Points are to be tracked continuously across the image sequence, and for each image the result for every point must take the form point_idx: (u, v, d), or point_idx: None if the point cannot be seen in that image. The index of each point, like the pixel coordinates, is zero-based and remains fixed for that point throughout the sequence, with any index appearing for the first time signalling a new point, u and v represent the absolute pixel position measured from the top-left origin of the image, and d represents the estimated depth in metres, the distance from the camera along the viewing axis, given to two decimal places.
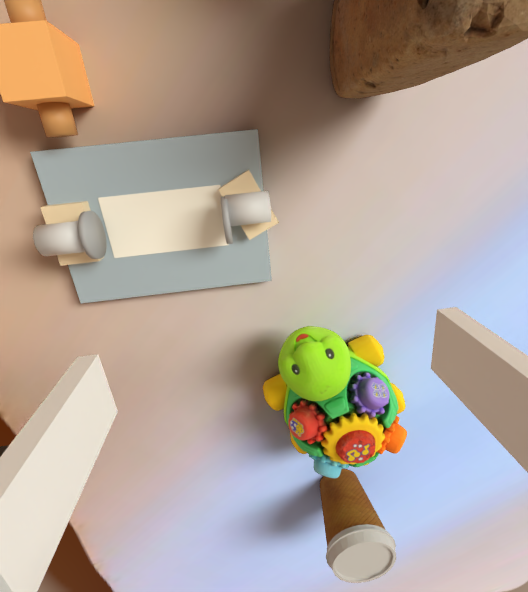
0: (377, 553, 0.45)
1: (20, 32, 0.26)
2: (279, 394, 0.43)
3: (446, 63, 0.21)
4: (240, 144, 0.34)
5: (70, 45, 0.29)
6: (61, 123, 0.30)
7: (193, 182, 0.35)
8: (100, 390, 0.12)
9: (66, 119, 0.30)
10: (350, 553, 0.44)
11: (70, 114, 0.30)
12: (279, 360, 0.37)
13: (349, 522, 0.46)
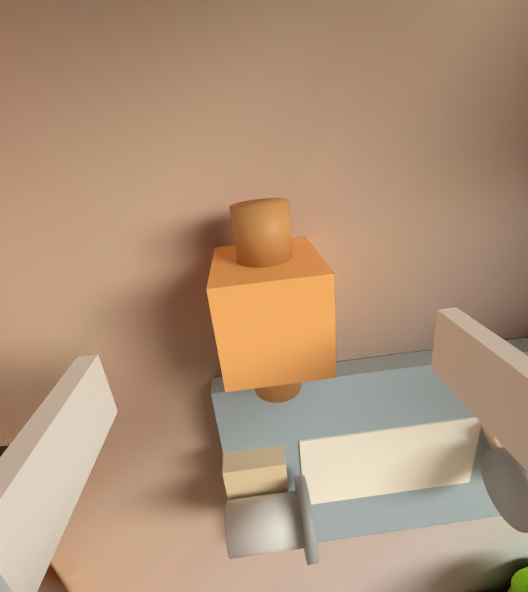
0: None
1: (283, 294, 0.13)
2: None
3: None
4: None
5: None
6: (291, 385, 0.18)
7: (443, 415, 0.23)
8: (100, 390, 0.12)
9: None
10: None
11: None
12: None
13: None
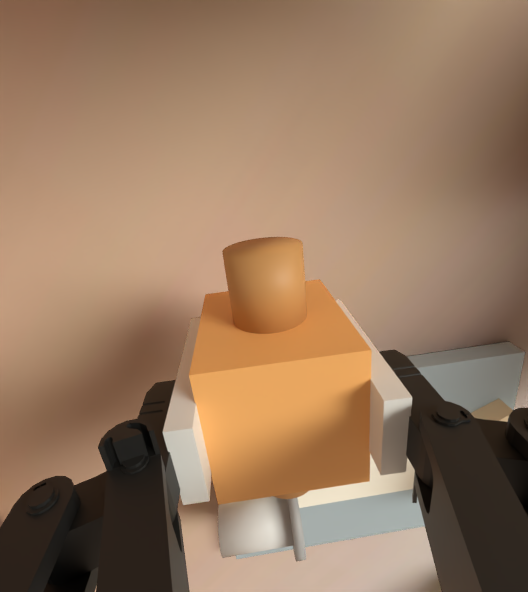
0: None
1: (298, 379, 0.09)
2: None
3: None
4: (496, 371, 0.24)
5: None
6: None
7: None
8: None
9: None
10: None
11: None
12: None
13: None
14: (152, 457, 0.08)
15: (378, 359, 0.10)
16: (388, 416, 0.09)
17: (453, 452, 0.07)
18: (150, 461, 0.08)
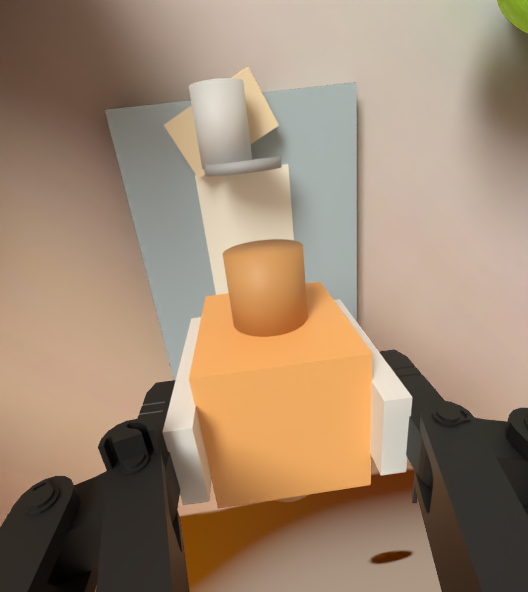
0: None
1: (298, 382, 0.09)
2: None
3: None
4: (131, 140, 0.22)
5: None
6: None
7: (195, 216, 0.24)
8: None
9: None
10: None
11: None
12: None
13: None
14: (152, 457, 0.08)
15: (378, 359, 0.10)
16: (388, 416, 0.09)
17: (453, 452, 0.07)
18: (150, 461, 0.08)
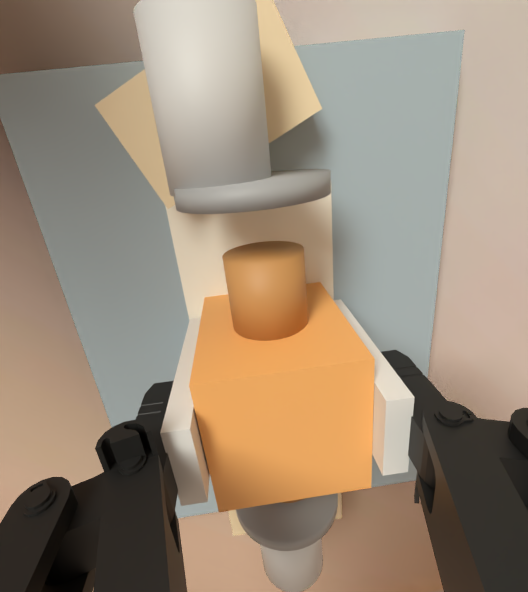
0: None
1: (300, 388, 0.09)
2: None
3: None
4: (44, 135, 0.12)
5: None
6: None
7: (166, 268, 0.14)
8: None
9: None
10: None
11: None
12: None
13: None
14: (149, 458, 0.08)
15: (380, 359, 0.10)
16: (390, 416, 0.09)
17: (456, 452, 0.07)
18: (147, 462, 0.08)
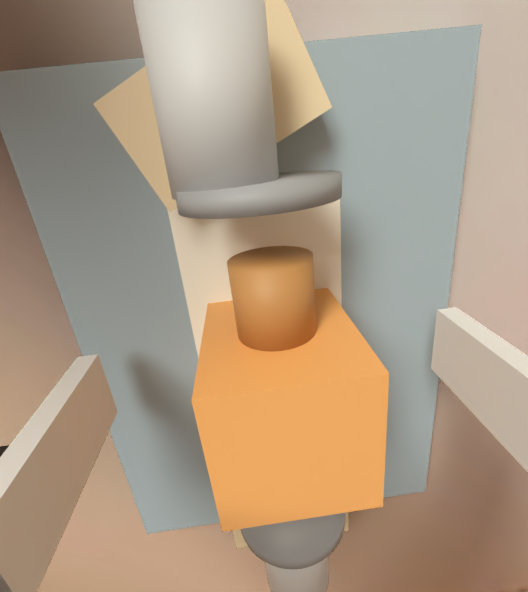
0: None
1: (309, 404, 0.09)
2: None
3: None
4: (41, 135, 0.11)
5: None
6: None
7: (168, 273, 0.13)
8: (100, 390, 0.12)
9: None
10: None
11: None
12: None
13: None
14: None
15: None
16: None
17: None
18: None
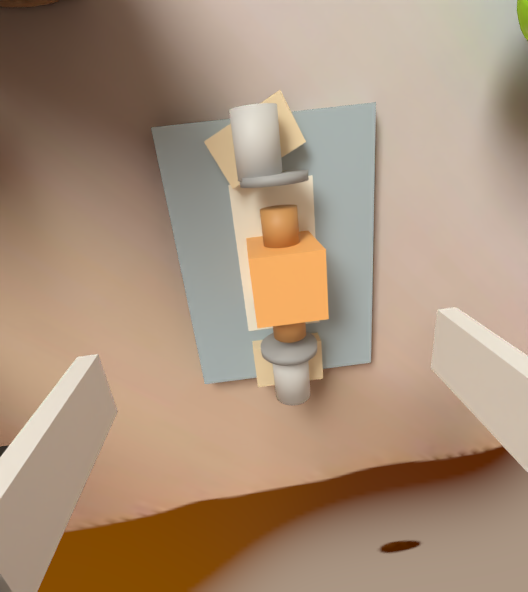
0: None
1: (294, 262, 0.22)
2: None
3: None
4: (173, 154, 0.25)
5: None
6: (299, 330, 0.26)
7: (227, 221, 0.27)
8: (100, 390, 0.12)
9: (303, 323, 0.26)
10: None
11: None
12: None
13: None
14: None
15: None
16: None
17: None
18: None
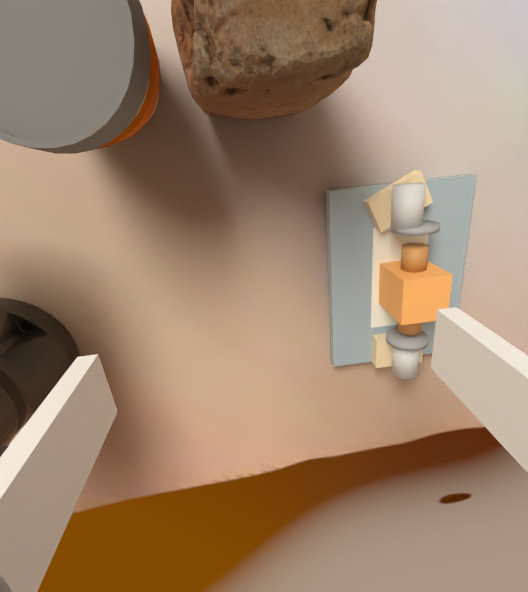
0: None
1: (432, 282, 0.34)
2: None
3: None
4: (340, 208, 0.37)
5: None
6: (420, 326, 0.38)
7: (368, 252, 0.39)
8: (100, 390, 0.12)
9: (421, 322, 0.38)
10: None
11: None
12: None
13: None
14: None
15: None
16: None
17: None
18: None
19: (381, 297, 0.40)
